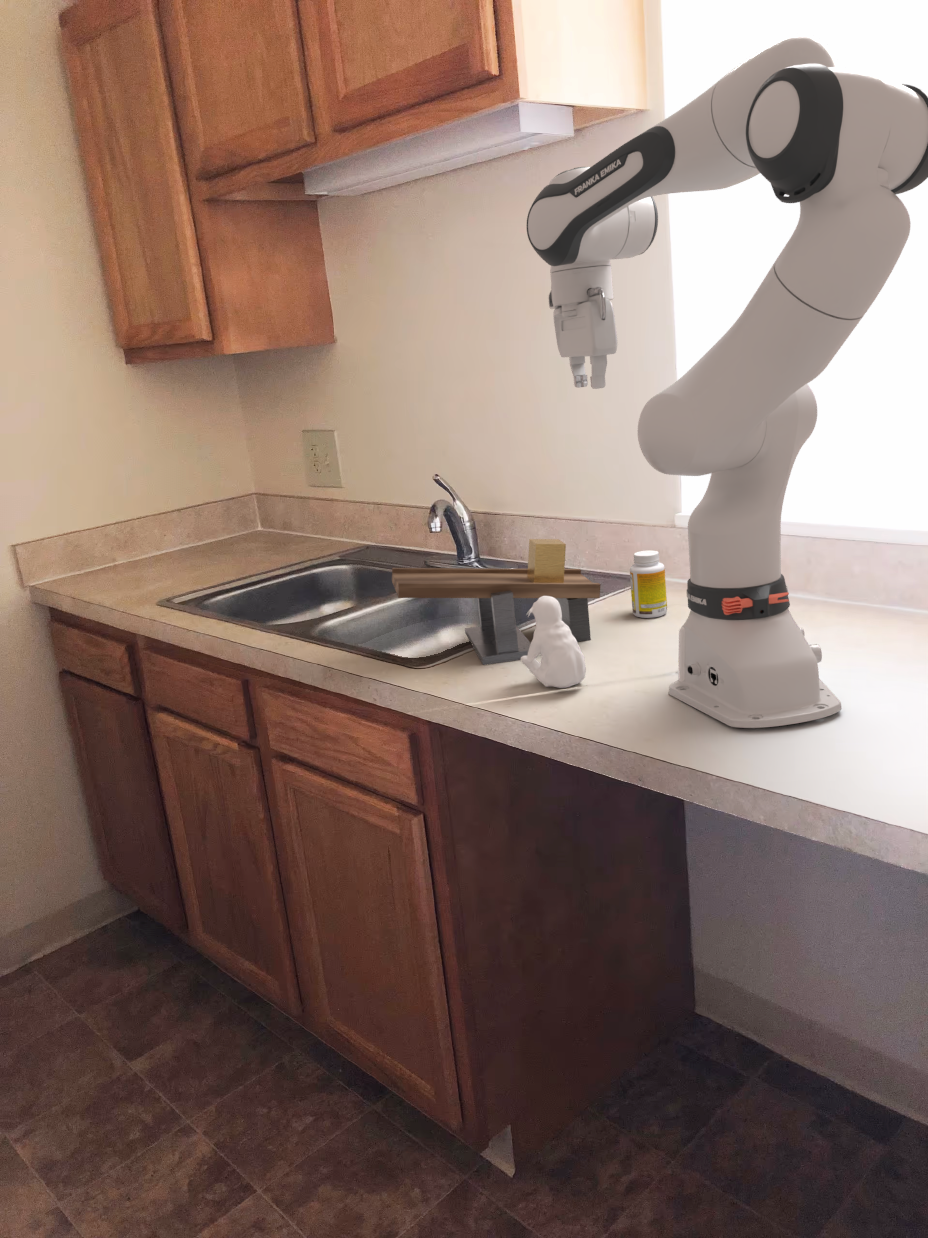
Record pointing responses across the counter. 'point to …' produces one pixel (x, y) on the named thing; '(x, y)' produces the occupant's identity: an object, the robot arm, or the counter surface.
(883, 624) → the counter surface
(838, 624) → the counter surface
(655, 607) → the supplement bottle
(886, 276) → the robot arm
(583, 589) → the beam
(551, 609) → the white seated figurine
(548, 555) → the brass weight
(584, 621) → the trestle
